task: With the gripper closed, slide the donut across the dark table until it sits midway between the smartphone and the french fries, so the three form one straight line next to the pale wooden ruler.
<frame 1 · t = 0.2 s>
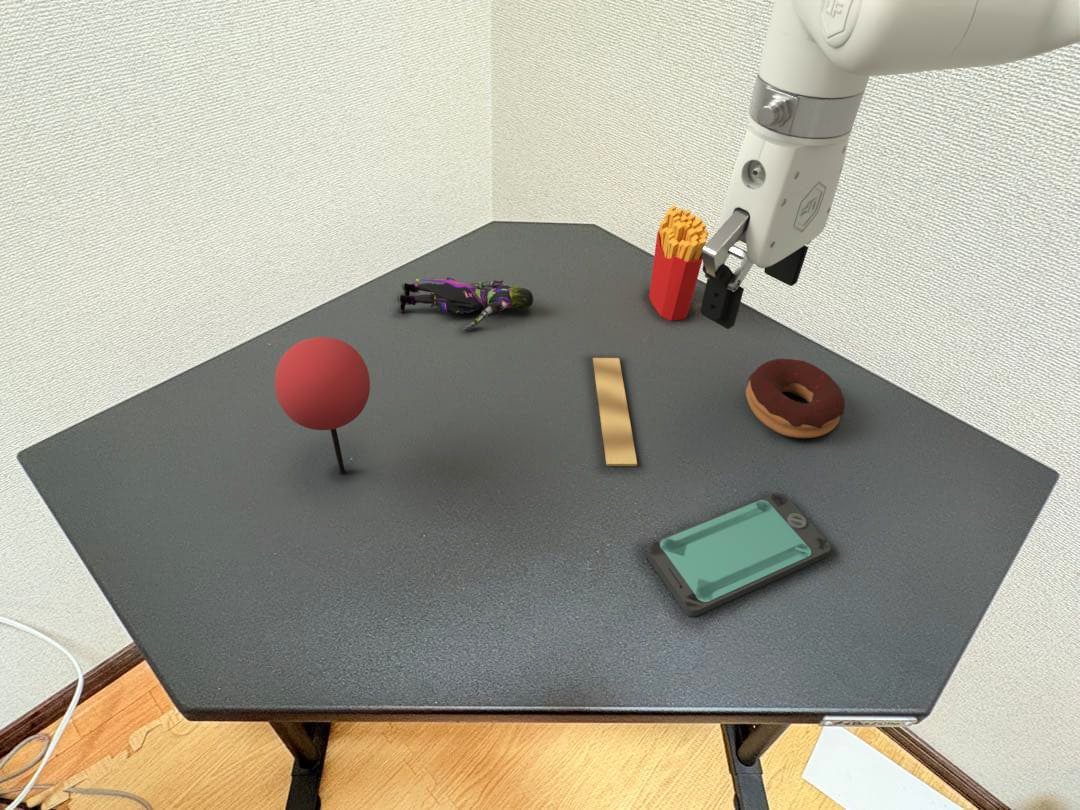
hand: (749, 298, 65), 16 cm above the table, tool pointing down, fingers open, 9 cm apart
french fries: (669, 307, 90), on the table
lollipop: (343, 472, 69), on the table
character figure: (467, 310, 89), on the table
donut: (789, 411, 77), on the table
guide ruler: (613, 409, 76), on the table
smartphone: (735, 554, 64), on the table
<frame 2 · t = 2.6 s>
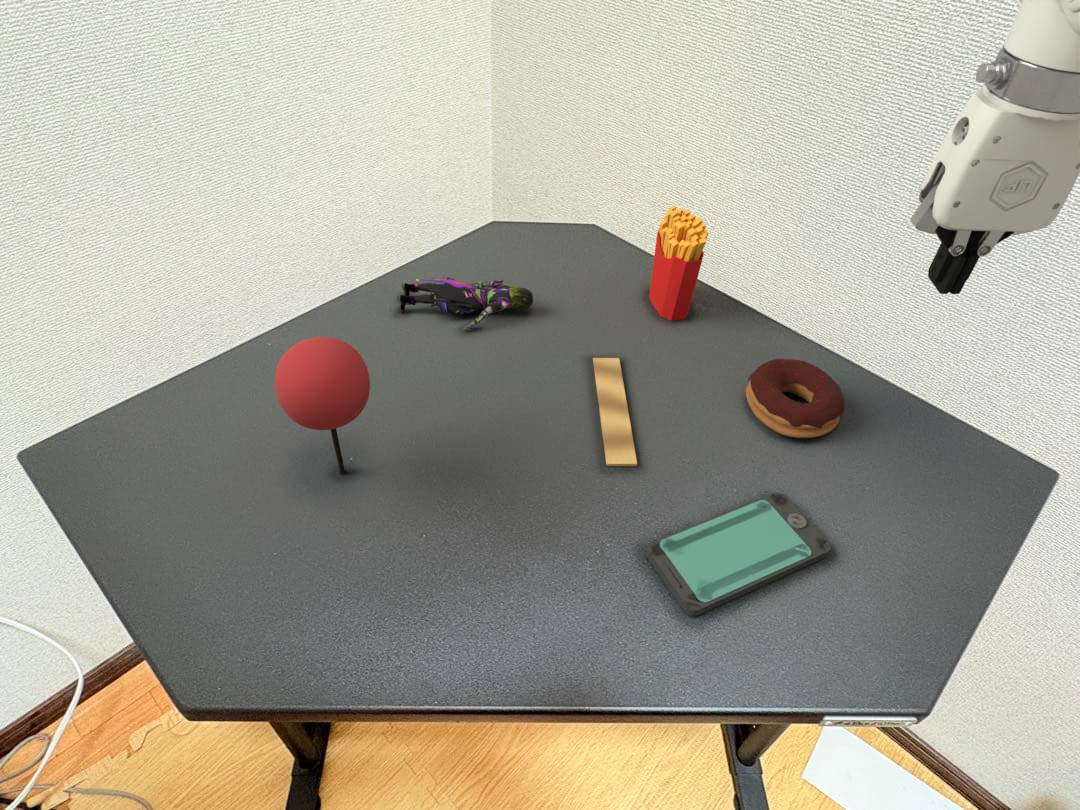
hand: (942, 285, 67), 16 cm above the table, tool pointing down, fingers closed
nothing on the table moved.
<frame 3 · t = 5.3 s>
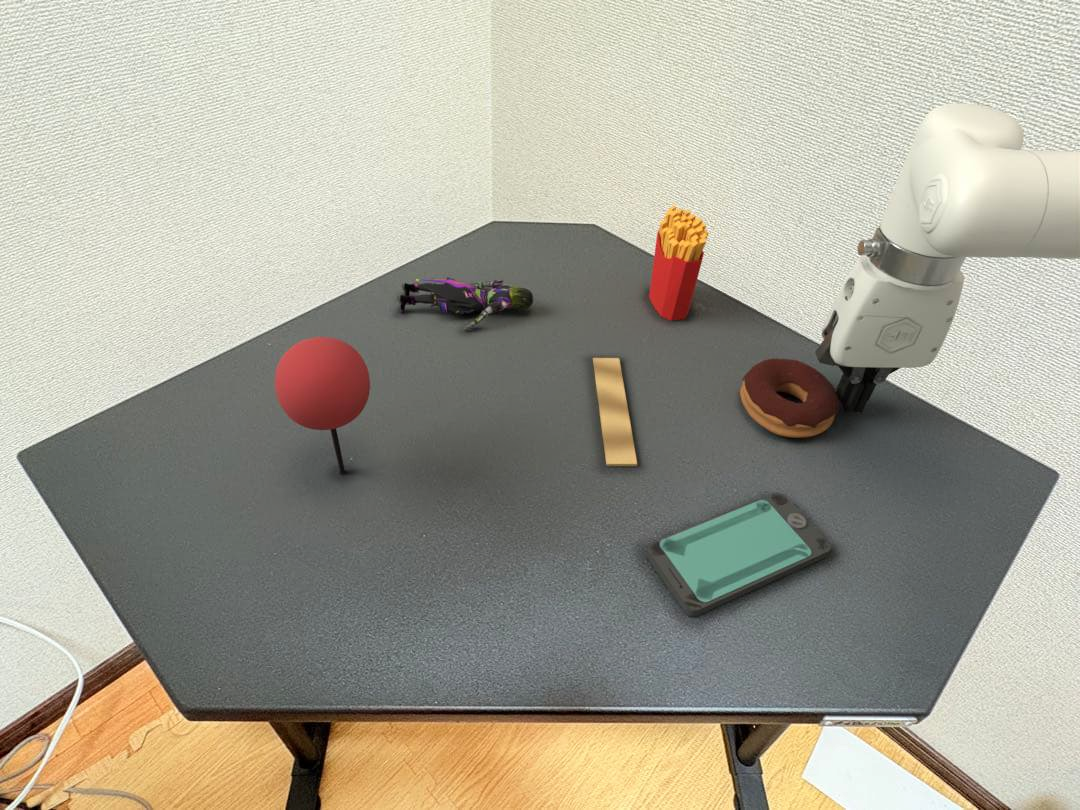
hand: (848, 403, 77), 1 cm above the table, tool pointing down, fingers closed
donut: (784, 411, 77), on the table, touching gripper
everything else where it was.
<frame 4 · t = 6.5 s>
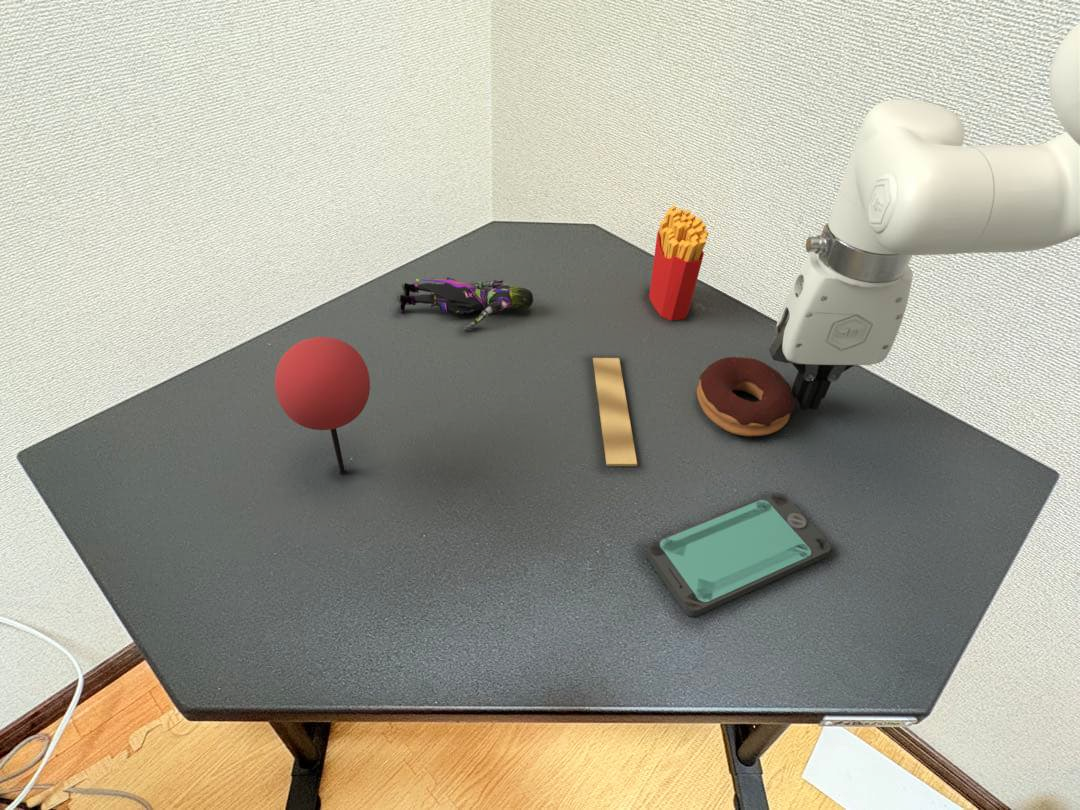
hand: (805, 400, 77), 1 cm above the table, tool pointing down, fingers closed
donut: (741, 409, 77), on the table, touching gripper
everything else where it was.
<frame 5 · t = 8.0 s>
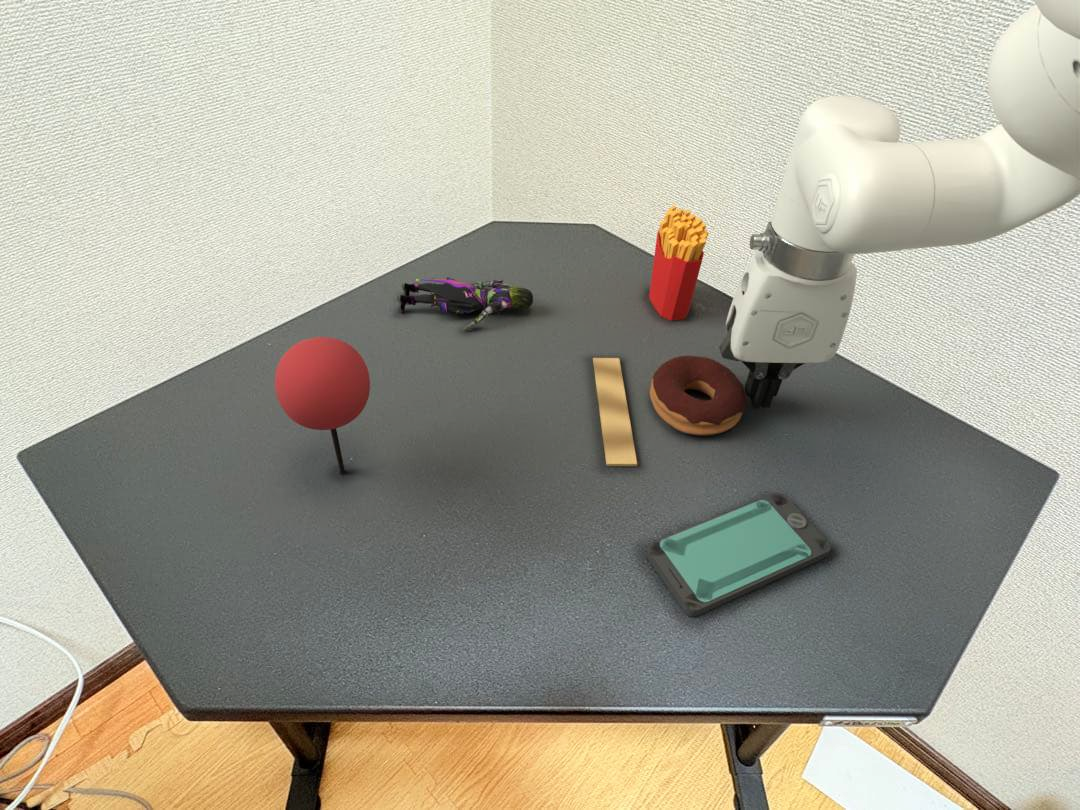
hand: (757, 398, 77), 1 cm above the table, tool pointing down, fingers closed
donut: (694, 408, 77), on the table, touching gripper
everything else where it was.
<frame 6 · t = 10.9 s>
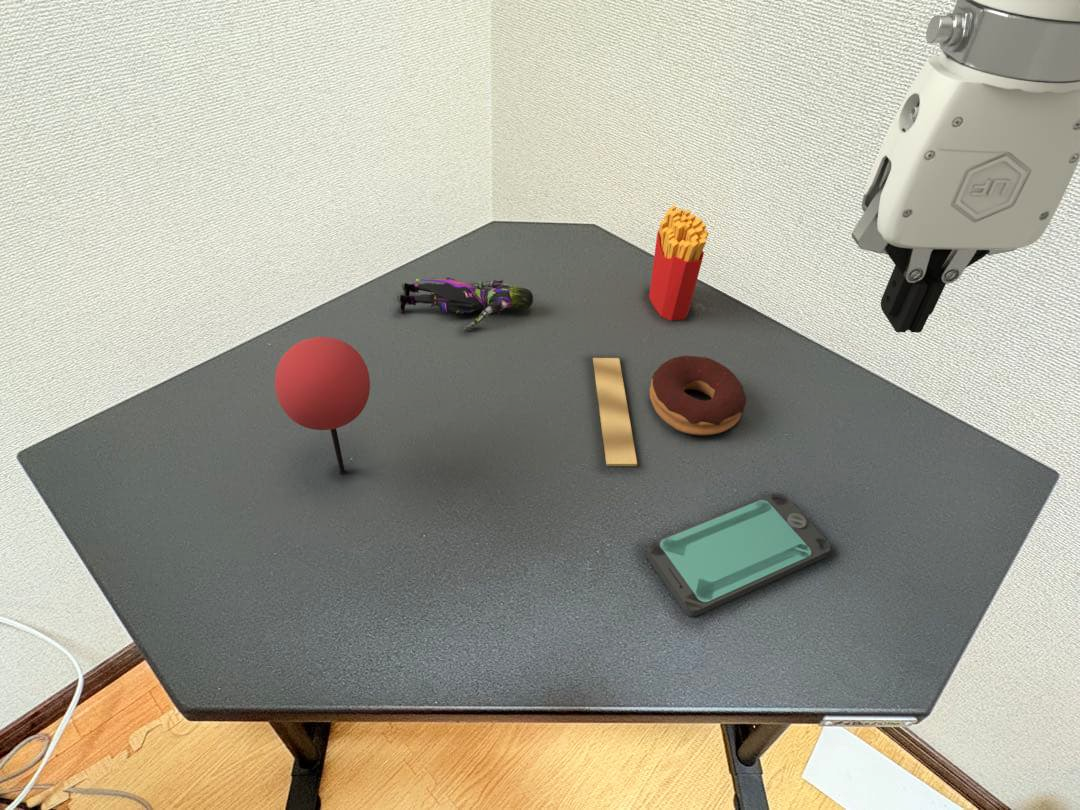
hand: (900, 320, 51), 23 cm above the table, tool pointing down, fingers closed
donut: (693, 408, 77), on the table
everything else where it was.
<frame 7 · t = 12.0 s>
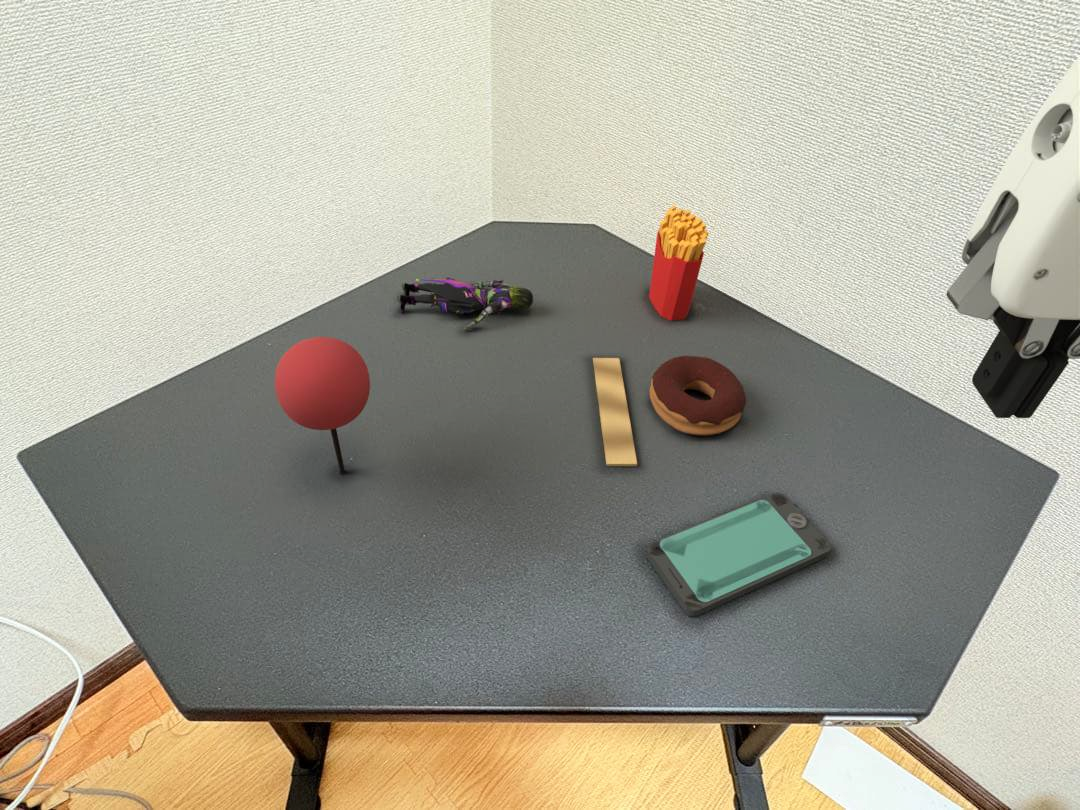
hand: (998, 399, 39), 27 cm above the table, tool pointing down, fingers closed
nothing on the table moved.
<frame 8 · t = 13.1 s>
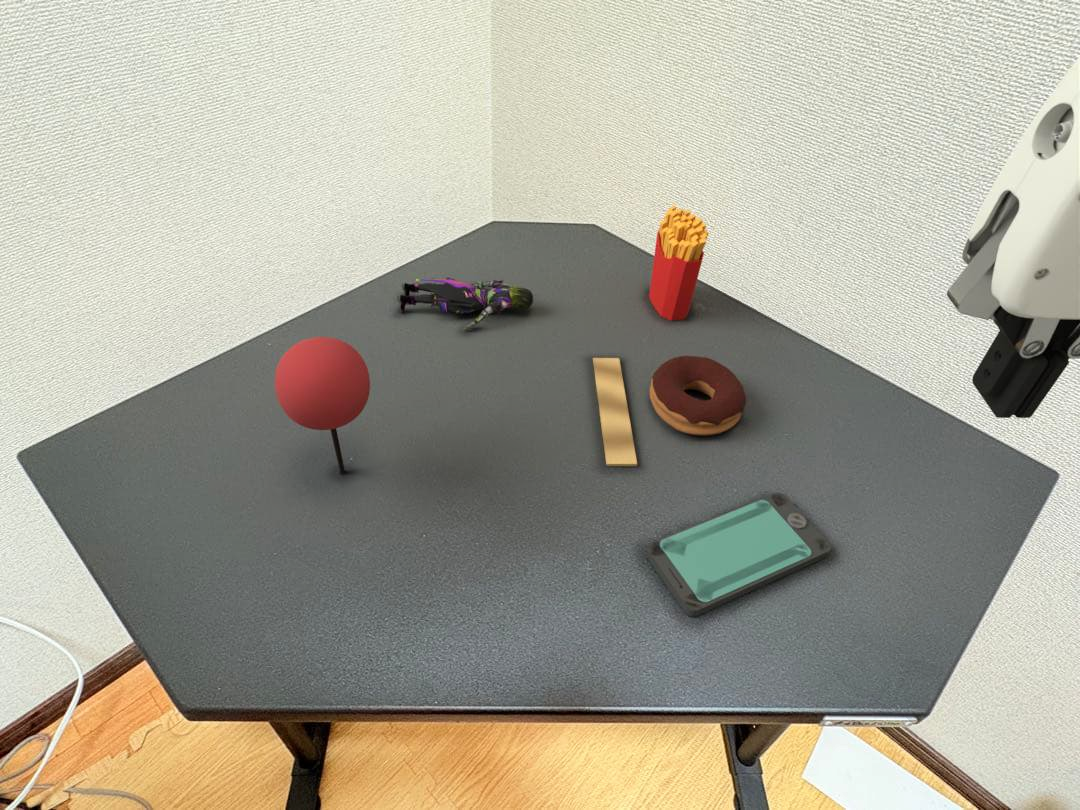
hand: (998, 399, 39), 27 cm above the table, tool pointing down, fingers closed
nothing on the table moved.
at the end: donut 0.3 cm from the target spot on the table beside the smartphone, on the table; donut 0.4 cm from the target spot on the table beside the french fries, on the table; donut tilted 0° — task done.
